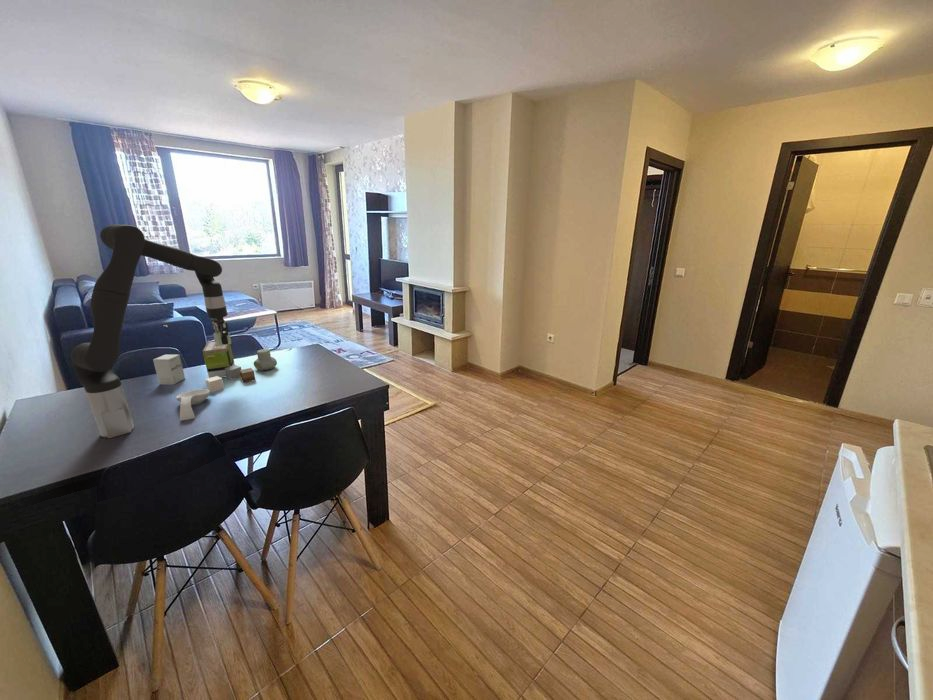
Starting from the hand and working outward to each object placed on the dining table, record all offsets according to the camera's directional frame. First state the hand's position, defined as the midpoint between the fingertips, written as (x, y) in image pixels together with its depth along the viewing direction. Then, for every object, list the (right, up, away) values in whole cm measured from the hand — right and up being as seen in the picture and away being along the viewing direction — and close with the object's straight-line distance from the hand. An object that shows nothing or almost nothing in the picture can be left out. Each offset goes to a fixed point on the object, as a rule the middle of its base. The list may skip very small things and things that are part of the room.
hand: (223, 342), depth 172 cm
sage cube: (0, -1, 0) cm, 0 cm away
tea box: (-13, -15, +20) cm, 28 cm away
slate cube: (-4, -17, +14) cm, 22 cm away
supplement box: (-29, -19, +8) cm, 36 cm away
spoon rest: (-2, -28, -17) cm, 32 cm away
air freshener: (+6, -13, +25) cm, 29 cm away
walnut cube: (+5, -18, +11) cm, 22 cm away
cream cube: (-4, -21, +1) cm, 22 cm away
